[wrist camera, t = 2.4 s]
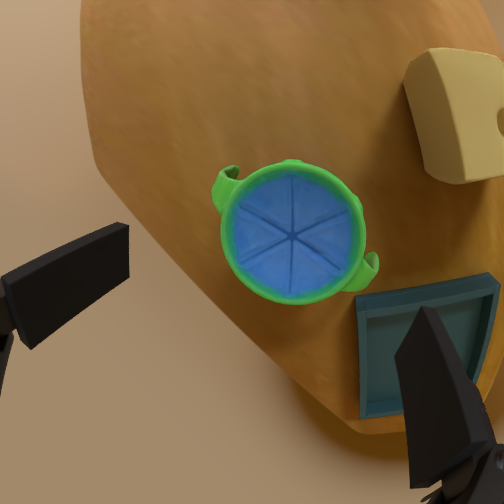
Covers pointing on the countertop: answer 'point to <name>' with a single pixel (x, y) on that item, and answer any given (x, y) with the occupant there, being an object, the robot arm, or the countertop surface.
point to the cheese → (458, 113)
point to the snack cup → (293, 232)
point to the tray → (399, 321)
